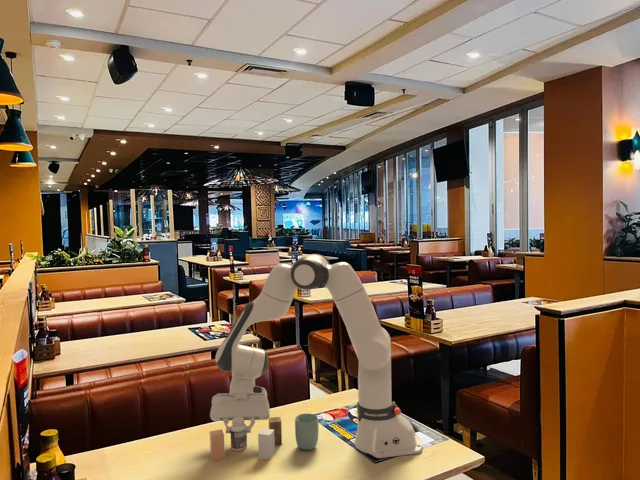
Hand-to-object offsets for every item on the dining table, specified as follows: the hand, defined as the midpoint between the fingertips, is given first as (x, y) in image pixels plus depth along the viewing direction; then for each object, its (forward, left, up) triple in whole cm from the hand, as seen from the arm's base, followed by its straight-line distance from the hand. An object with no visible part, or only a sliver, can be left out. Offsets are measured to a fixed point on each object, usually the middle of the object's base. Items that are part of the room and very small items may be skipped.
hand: (238, 432), depth 158 cm
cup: (-23, 0, -6) cm, 24 cm away
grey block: (-10, +5, -5) cm, 13 cm away
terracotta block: (+6, +5, -5) cm, 10 cm away
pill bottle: (0, -1, -6) cm, 6 cm away
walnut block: (-12, -4, -5) cm, 14 cm away
